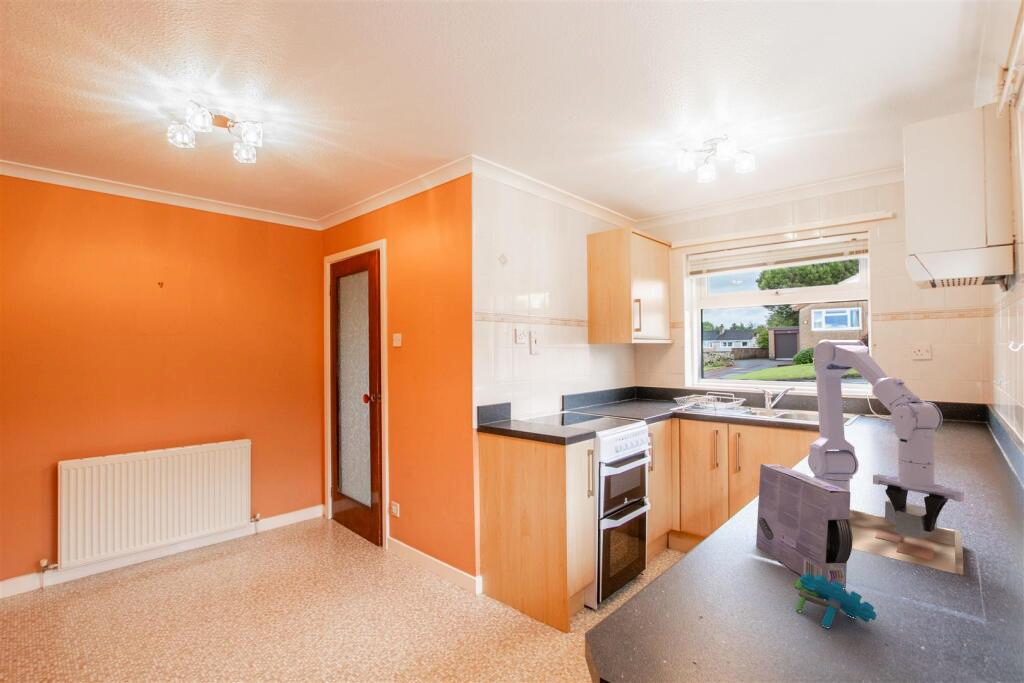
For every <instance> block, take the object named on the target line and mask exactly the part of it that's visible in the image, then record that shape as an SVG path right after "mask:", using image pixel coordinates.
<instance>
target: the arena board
mask: <svg viewBox="0 0 1024 683" xmlns="http://www.w3.org/2000/svg"><path fill="white" fill-rule="evenodd" d="M849 521H850V525H851V530H852V537H853V541H852V550H856V551H860V552H863V553H869V554H872V555H876V556H880V557H884V558H885V557H886V558H890V559H893V560H897V561H902V562H905V563H906V562H907V563H910V564H914V565H918V566H919V565H920V566H923V567H927V568H930V569H935V570H939V571H944V572H948V573H952V574H956V575H961V576H964V553H963V552H964V550H963V539H962V531H961V530H956V529H952V528H947V527H946V528H945V527H941V526H937V532H935V533H933V534H931V535H929V536H927V537H925V538H922V539H917V538H913V537H910V536H906V535H902V534H899V533H896V525H894V524H891V523H887V522H885V515H880V514H875V513H869V512H865V511H859V510H854V509H853V510H850V516H849Z"/></svg>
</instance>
